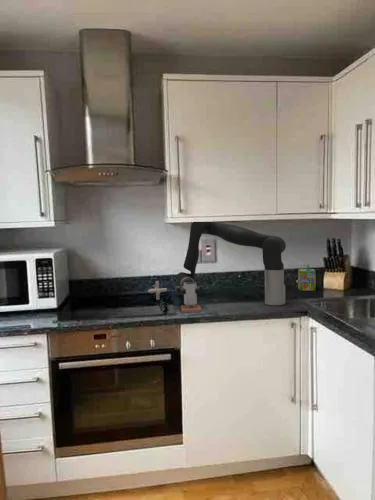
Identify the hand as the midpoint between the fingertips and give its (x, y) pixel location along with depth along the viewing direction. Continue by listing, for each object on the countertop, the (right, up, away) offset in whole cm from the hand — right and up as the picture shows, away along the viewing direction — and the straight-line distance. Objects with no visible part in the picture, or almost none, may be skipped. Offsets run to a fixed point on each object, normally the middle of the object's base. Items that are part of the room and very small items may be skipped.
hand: (190, 292), depth 176 cm
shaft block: (0, -9, +3) cm, 9 cm away
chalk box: (+68, -3, +41) cm, 79 cm away
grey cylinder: (0, -6, +3) cm, 6 cm away
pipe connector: (-18, -7, +28) cm, 34 cm away
